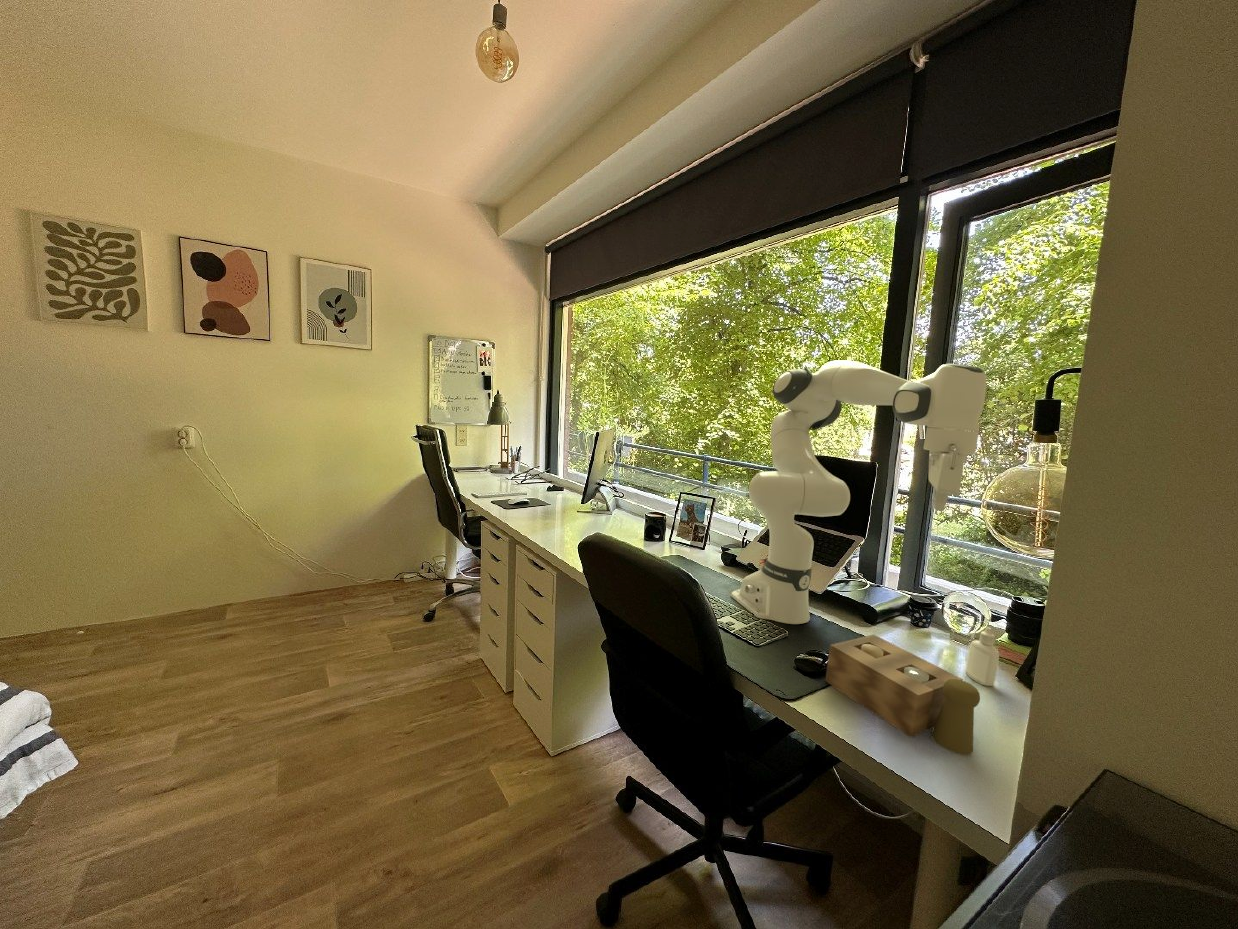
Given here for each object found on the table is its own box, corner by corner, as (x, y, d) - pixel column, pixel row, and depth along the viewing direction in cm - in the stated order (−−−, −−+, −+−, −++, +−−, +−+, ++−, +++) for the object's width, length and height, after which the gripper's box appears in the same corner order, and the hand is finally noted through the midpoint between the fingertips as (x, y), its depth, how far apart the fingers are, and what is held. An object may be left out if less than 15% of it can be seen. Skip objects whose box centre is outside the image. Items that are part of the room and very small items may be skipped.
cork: (974, 743, 84) (986, 684, 83) (970, 760, 79) (982, 699, 78) (934, 725, 88) (944, 669, 86) (928, 741, 83) (939, 682, 82)
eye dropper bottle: (970, 682, 104) (980, 630, 102) (963, 670, 109) (973, 620, 107) (995, 689, 102) (1005, 636, 101) (987, 676, 107) (997, 625, 106)
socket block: (825, 681, 100) (830, 644, 99) (868, 668, 106) (873, 634, 105) (911, 737, 84) (918, 695, 83) (955, 718, 91) (962, 679, 90)
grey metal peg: (893, 706, 92) (899, 669, 91) (905, 702, 94) (912, 665, 93) (914, 719, 88) (921, 680, 87) (926, 714, 90) (933, 676, 89)
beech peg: (851, 681, 100) (857, 645, 99) (864, 677, 102) (869, 642, 101) (869, 692, 96) (875, 655, 95) (881, 687, 98) (887, 652, 97)
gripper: (977, 447, 88) (963, 521, 90) (961, 443, 106) (950, 505, 108) (936, 443, 91) (924, 514, 93) (927, 440, 109) (917, 500, 111)
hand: (938, 509), depth 100 cm, fingers closed
